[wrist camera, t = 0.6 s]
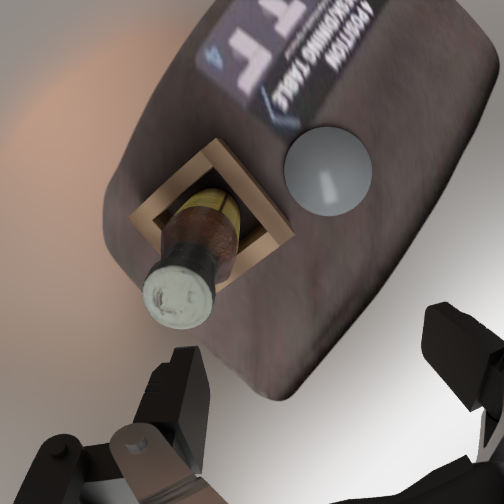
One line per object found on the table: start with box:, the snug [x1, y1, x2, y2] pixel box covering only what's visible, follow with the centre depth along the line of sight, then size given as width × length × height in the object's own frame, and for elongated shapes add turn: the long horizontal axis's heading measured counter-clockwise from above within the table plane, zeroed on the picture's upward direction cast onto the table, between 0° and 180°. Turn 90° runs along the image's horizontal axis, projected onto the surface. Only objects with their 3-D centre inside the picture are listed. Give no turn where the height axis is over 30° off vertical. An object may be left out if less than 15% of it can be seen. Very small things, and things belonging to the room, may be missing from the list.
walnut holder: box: [128, 138, 295, 293], centre depth 32 cm, size 12×12×5 cm
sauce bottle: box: [142, 188, 240, 329], centre depth 25 cm, size 6×6×20 cm
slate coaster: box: [284, 127, 372, 216], centre depth 32 cm, size 10×10×1 cm
